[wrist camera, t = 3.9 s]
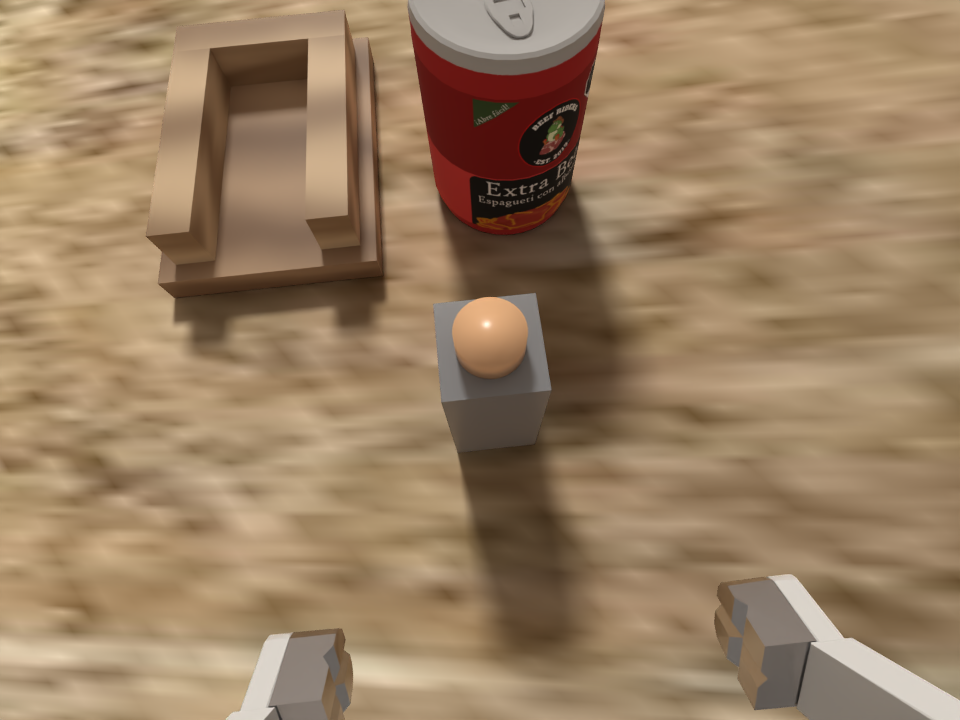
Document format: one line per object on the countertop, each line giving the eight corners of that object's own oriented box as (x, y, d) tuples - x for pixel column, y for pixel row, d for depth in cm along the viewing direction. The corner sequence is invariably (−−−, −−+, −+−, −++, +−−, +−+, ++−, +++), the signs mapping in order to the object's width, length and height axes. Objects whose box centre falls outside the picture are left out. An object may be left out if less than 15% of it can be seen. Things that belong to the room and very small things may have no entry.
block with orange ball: (534, 444, 25) (555, 377, 16) (457, 452, 25) (437, 390, 16) (524, 371, 26) (538, 275, 18) (451, 379, 26) (429, 286, 18)
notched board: (382, 275, 28) (365, 231, 25) (174, 297, 28) (125, 256, 24) (373, 58, 34) (358, -4, 30) (200, 76, 34) (164, 15, 30)
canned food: (481, 262, 28) (472, 90, 18) (410, 162, 31) (367, -38, 21) (598, 199, 30) (652, 5, 20) (521, 108, 32) (532, -106, 22)
